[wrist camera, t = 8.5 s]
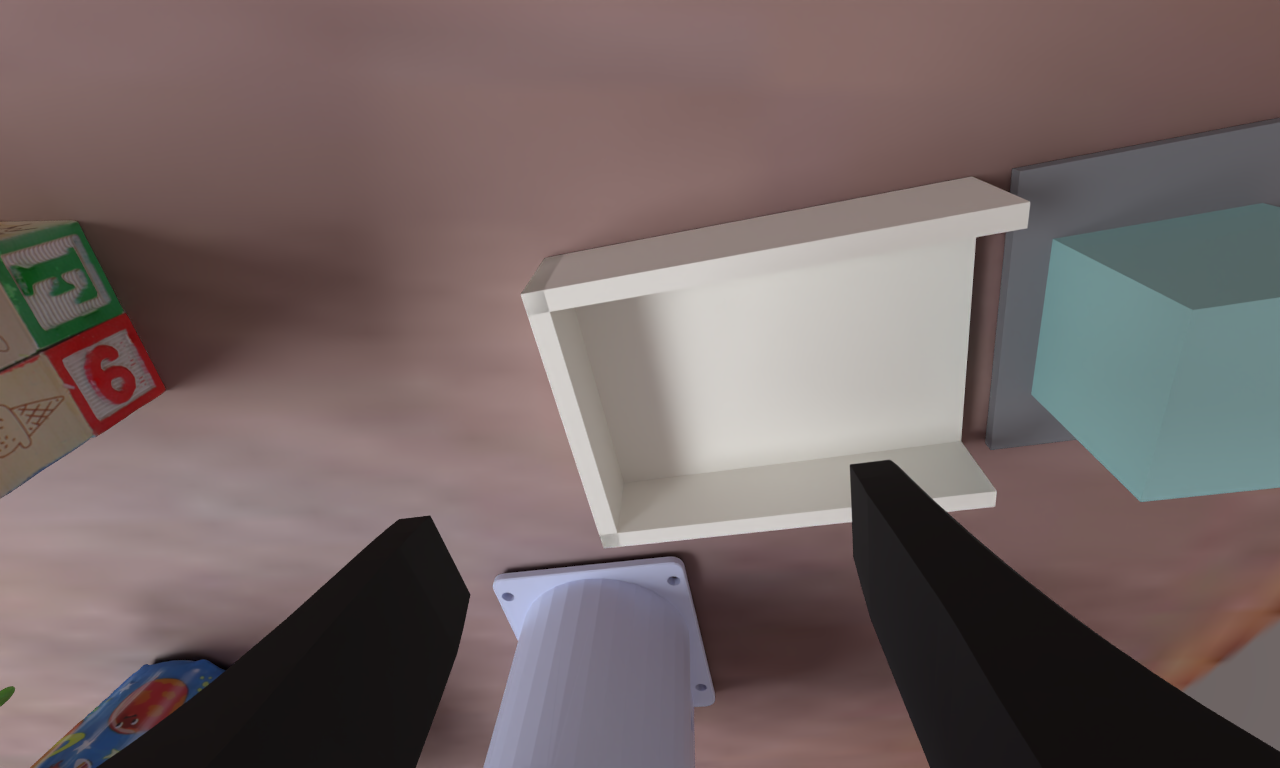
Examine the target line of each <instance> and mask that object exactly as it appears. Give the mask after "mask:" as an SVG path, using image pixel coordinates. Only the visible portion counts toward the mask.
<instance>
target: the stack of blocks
mask: <svg viewBox="0 0 1280 768" xmlns="http://www.w3.org/2000/svg"><path fill="white" fill-rule="evenodd" d="M165 391H166V389H165V386H164V384H163V383H162V381H161V379H160V377H159V375H158V373H157V371H156V369H155V367H154V365H153V363H152V361H151V360H150V358H149V356H148V354H147V352H146V350H145V348H144V346H143V344H142V342H141V340H140V339H139V337H138V335H137V333H136V331H135V329H134V327H133V325H132V323H131V321H130V319H129V317H128V316H127V315H126V313H125V312H124V310H123V308H122V307H121V305H120V303H119V301H118V299H117V297H116V295H115V293H114V291H113V289H112V287H111V285H110V283H109V281H108V280H107V278H106V276H105V274H104V272H103V270H102V268H101V266H100V264H99V262H98V260H97V258H96V256H95V254H94V252H93V250H92V248H91V247H90V245H89V243H88V241H87V239H86V237H85V235H84V233H83V231H82V229H81V227H80V225H79V223H78V222H77V221H74V220H59V221H14V222H0V498H2V497H4V496H5V495H7V494H9V493H10V492H12V491H13V490H15V489H16V488H18V487H19V486H21V485H22V484H24V483H25V482H26V481H28V480H29V479H31V478H32V477H34V476H35V475H36V474H38V473H39V472H41V471H42V470H44V469H45V468H47V467H48V466H50V465H52V464H53V463H55V462H56V461H58V460H59V459H61V458H62V457H64V456H66V455H67V454H69V453H70V452H72V451H73V450H75V449H76V448H78V447H79V446H81V445H82V444H84V443H85V442H87V441H88V440H89V439H90V438H92V437H97V436H98V435H100V434H102V433H103V432H105V431H106V430H108V429H109V428H111V427H112V426H114V425H115V424H117V423H118V422H120V421H121V420H123V419H124V418H126V417H127V416H128V415H130V414H131V413H132V412H134V411H135V410H137V409H139V408H140V407H142V406H144V405H145V404H147V403H149V402H150V401H152V400H153V399H155V398H156V397H158V396H159V395H161V394H163V393H164V392H165Z"/></svg>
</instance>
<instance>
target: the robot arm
mask: <svg viewBox="0 0 1280 768" xmlns="http://www.w3.org/2000/svg"><path fill="white" fill-rule="evenodd" d="M850 485H851V509H852V533H853V557H854V561H855V565H856V568H857V572H858V576H859V579H860V583H861V587H862V590H863V594H864V597H865V601H866V604H867V608H868V611H869V615H870V618H871V621H872V623H873V626H874V628H875V631H876V634H877V636H878V639H879V641H880V644H881V646H882V649H883V651H884V654H885V656H886V659H887V661H888V664H889V666H890V669H891V671H892V674H893V676H894V679H895V681H896V684H897V686H898V689H899V691H900V694H901V696H902V699H903V701H904V704H905V706H906V709H907V711H908V713H909V716H910V718H911V721H912V723H913V726H914V728H915V731H916V733H917V736H918V738H919V741H920V743H921V746H922V748H923V751H924V753H925V756H926V758H927V761H928V763H929V766H930V768H1280V751H1278V750H1276V749H1274V748H1273V747H1271V746H1270V745H1268V744H1266V743H1264V742H1263V741H1261V740H1260V739H1258V738H1256V737H1255V736H1253V735H1251V734H1250V733H1248V732H1246V731H1245V730H1243V729H1241V728H1240V727H1238V726H1236V725H1235V724H1233V723H1231V722H1230V721H1228V720H1226V719H1225V718H1223V717H1221V716H1220V715H1218V714H1216V713H1215V712H1213V711H1211V710H1210V709H1208V708H1206V707H1205V706H1203V705H1202V704H1200V703H1199V702H1197V701H1196V700H1194V699H1193V698H1191V697H1190V696H1188V695H1186V694H1185V693H1183V692H1182V691H1180V690H1179V689H1177V688H1176V687H1174V686H1173V685H1171V684H1170V683H1168V682H1167V681H1165V680H1163V679H1162V678H1160V677H1159V676H1157V675H1156V674H1154V673H1153V672H1151V671H1150V670H1148V669H1147V668H1146V667H1144V666H1143V665H1141V664H1140V663H1138V662H1137V661H1135V660H1134V659H1132V658H1131V657H1130V656H1128V655H1127V654H1125V653H1124V652H1122V651H1121V650H1119V649H1118V648H1116V647H1115V646H1114V645H1112V644H1111V643H1109V642H1108V641H1106V640H1105V639H1104V638H1102V637H1101V636H1099V635H1098V634H1097V633H1095V632H1094V631H1093V630H1091V629H1090V628H1088V627H1087V626H1086V625H1084V624H1083V623H1082V622H1080V621H1079V620H1078V619H1076V618H1075V617H1073V616H1072V615H1071V614H1069V613H1068V612H1067V611H1065V610H1064V609H1063V608H1061V607H1060V606H1059V605H1058V604H1056V603H1055V602H1054V601H1052V600H1051V599H1050V598H1049V597H1047V596H1046V595H1045V594H1043V593H1042V592H1041V591H1040V590H1038V589H1037V588H1036V587H1034V586H1033V585H1032V584H1031V583H1029V582H1028V581H1027V580H1026V579H1024V578H1023V577H1022V576H1021V575H1019V574H1018V573H1017V572H1016V571H1014V570H1013V569H1012V568H1011V567H1010V566H1008V565H1007V564H1006V563H1005V562H1003V561H1002V560H1001V559H1000V558H999V557H998V556H996V555H995V554H994V553H993V552H992V551H991V550H989V549H988V548H987V547H986V546H985V545H984V544H982V543H981V542H980V541H979V540H978V539H976V538H975V537H974V536H973V535H972V534H971V533H969V532H968V531H967V530H966V529H965V528H964V527H963V526H962V525H960V524H959V523H958V522H957V521H956V520H955V519H954V518H953V517H952V516H950V515H949V514H948V513H947V512H946V511H945V510H944V509H943V508H942V507H941V506H940V505H939V504H937V503H936V502H935V501H934V500H933V499H932V498H931V497H930V496H929V495H928V494H927V493H926V492H925V491H924V490H923V489H922V488H920V487H919V486H918V485H917V484H916V483H915V482H914V481H913V480H912V479H911V478H910V477H909V476H908V475H907V474H906V473H905V472H904V471H903V470H902V469H901V468H900V467H899V466H898V465H897V464H895V463H894V462H893V461H891V460H882V461H874V462H866V463H858V464H850ZM672 576H674V577H676V578H672ZM493 589H494V591H495V593H496V596H497V598H498V600H499V602H500V604H501V606H502V608H503V610H504V612H505V615H506V617H507V619H508V621H509V623H510V625H511V627H512V629H513V631H514V633H515V636H516V638H517V640H518V645H517V648H516V652H515V655H514V659H513V663H512V666H511V670H510V673H509V677H508V681H507V684H506V688H505V691H504V695H503V699H502V702H501V706H500V709H499V713H498V717H497V720H496V724H495V728H494V731H493V735H492V738H491V742H490V746H489V749H488V753H487V756H486V760H485V764H484V767H483V768H695V738H694V707H702V706H710V705H712V704H713V703H714V702H715V692H714V687H713V683H712V679H711V675H710V671H709V666H708V662H707V658H706V654H705V650H704V645H703V641H702V637H701V633H700V629H699V625H698V620H697V616H696V612H695V608H694V604H693V599H692V595H691V591H690V587H689V583H688V578H687V574H686V570H685V566H684V563H683V561H682V560H681V559H679V558H677V557H671V556H669V557H660V558H650V559H640V560H630V561H621V562H611V563H601V564H591V565H582V566H572V567H562V568H552V569H543V570H533V571H523V572H513V573H504V574H499V575H498V576H496V578H495V580H494V583H493ZM469 598H470V593H469V591H468V589H467V587H466V585H465V583H464V581H463V579H462V577H461V575H460V573H459V571H458V569H457V567H456V565H455V563H454V561H453V559H452V557H451V555H450V554H449V552H448V550H447V548H446V546H445V544H444V542H443V540H442V538H441V536H440V534H439V532H438V530H437V528H436V526H435V524H434V522H433V520H432V518H431V516H423V517H414V518H406V519H399V520H398V521H396V522H395V523H394V524H393V525H391V526H390V527H389V528H388V529H386V530H385V531H384V532H383V533H382V534H380V535H379V536H378V537H377V538H376V539H375V540H374V541H372V542H371V543H370V544H369V545H368V546H367V547H366V548H364V549H363V550H362V551H361V552H360V553H359V554H358V555H357V556H356V557H354V558H353V559H352V560H351V561H350V562H349V563H348V564H347V565H346V566H345V567H343V568H342V569H341V570H340V571H339V572H338V573H337V574H336V575H335V576H334V577H332V578H331V579H330V580H329V581H328V582H327V583H326V584H325V585H324V586H322V587H321V588H320V589H319V590H318V591H317V592H316V593H315V594H314V595H312V596H311V597H310V598H309V599H308V600H307V601H306V602H305V603H304V604H302V605H301V606H300V607H299V608H298V609H297V610H296V611H295V612H294V613H293V614H291V615H290V616H289V617H288V618H287V619H286V620H285V621H283V622H282V623H281V624H280V625H279V626H277V627H276V628H275V629H274V630H273V631H272V632H270V633H269V634H268V635H267V636H266V637H265V638H263V639H262V640H261V641H260V642H259V643H258V644H256V645H255V646H254V647H253V648H252V649H251V650H249V651H248V652H247V653H246V654H245V655H243V656H242V657H241V658H240V659H239V660H238V661H236V662H235V663H234V664H233V665H232V666H231V667H229V668H228V669H227V670H226V671H225V672H223V673H222V674H221V675H220V676H218V677H217V678H216V679H215V680H214V681H212V682H211V683H210V684H209V685H207V686H206V687H205V688H204V689H202V690H201V691H200V692H198V693H197V694H196V695H195V696H193V697H192V698H191V699H190V700H188V701H187V702H186V703H184V704H183V705H182V706H180V707H179V708H178V709H176V710H175V711H174V712H172V713H171V714H170V715H168V716H167V717H166V718H164V719H163V720H162V721H160V722H159V723H158V724H157V725H155V726H154V727H153V728H151V729H150V730H149V731H147V732H146V733H144V734H143V735H142V736H140V737H139V738H138V739H136V740H135V741H133V742H132V743H131V744H129V745H128V746H126V747H125V748H124V749H122V750H121V751H119V752H118V753H116V754H115V755H113V756H112V757H111V758H109V759H108V760H106V761H105V762H103V763H102V764H100V765H99V766H97V767H96V768H416V765H417V762H418V759H419V757H420V754H421V751H422V749H423V746H424V743H425V740H426V738H427V735H428V732H429V730H430V727H431V724H432V721H433V719H434V716H435V713H436V711H437V708H438V705H439V702H440V700H441V697H442V694H443V691H444V689H445V686H446V683H447V680H448V677H449V675H450V672H451V669H452V666H453V663H454V660H455V657H456V655H457V652H458V648H459V644H460V639H461V635H462V631H463V627H464V623H465V618H466V613H467V608H468V603H469Z"/></svg>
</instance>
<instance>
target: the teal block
mask: <svg viewBox="0 0 1280 768" xmlns="http://www.w3.org/2000/svg"><path fill="white" fill-rule="evenodd" d="M1031 395H1032V396H1033V397H1034V398H1035V399H1036V400H1037V401H1038V402H1039V403H1040V404H1041V405H1042V406H1043V407H1044V408H1045V409H1047V410H1048V411H1049V412H1050V413H1051V414H1052V415H1053V416H1054V417H1055V418H1056V419H1057V420H1058V421H1059V422H1060V423H1061V424H1062V425H1063V426H1064V427H1065V428H1066V429H1067V430H1068V431H1069V432H1070V433H1071V434H1072V435H1073V436H1074V437H1075V438H1076V439H1077V440H1078V441H1079V442H1080V443H1081V444H1082V445H1083V446H1084V447H1085V448H1086V449H1087V450H1088V451H1089V452H1090V453H1091V454H1092V455H1093V456H1094V457H1095V458H1096V459H1097V460H1098V461H1099V462H1100V463H1101V464H1102V465H1103V466H1104V467H1105V468H1106V469H1107V470H1109V471H1110V472H1111V473H1112V474H1113V475H1114V476H1115V477H1116V478H1117V479H1118V480H1119V481H1120V482H1121V483H1122V484H1123V485H1124V486H1125V487H1126V488H1127V489H1128V490H1129V491H1130V492H1131V493H1132V494H1133V495H1134V496H1135V497H1136V498H1137V499H1138V500H1139V501H1140V502H1145V501H1155V500H1164V499H1174V498H1183V497H1193V496H1203V495H1212V494H1222V493H1231V492H1241V491H1251V490H1260V489H1270V488H1280V207H1276V206H1273V205H1269V204H1265V203H1260V204H1254V205H1248V206H1242V207H1237V208H1231V209H1225V210H1219V211H1213V212H1207V213H1202V214H1196V215H1190V216H1184V217H1178V218H1172V219H1166V220H1161V221H1155V222H1149V223H1143V224H1137V225H1131V226H1126V227H1120V228H1114V229H1108V230H1102V231H1096V232H1091V233H1085V234H1079V235H1073V236H1067V237H1061V238H1056V239H1053V241H1052V248H1051V255H1050V262H1049V270H1048V277H1047V284H1046V291H1045V298H1044V306H1043V313H1042V320H1041V327H1040V334H1039V342H1038V349H1037V356H1036V363H1035V371H1034V378H1033V385H1032V392H1031Z"/></svg>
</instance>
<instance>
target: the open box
mask: <svg viewBox="0 0 1280 768" xmlns="http://www.w3.org/2000/svg"><path fill="white" fill-rule="evenodd" d="M1029 210H1030V201H1028V200H1025V199H1023V198H1021V197H1018V196H1016V195H1014V194H1011V193H1009V192H1007V191H1004V190H1002V189H1000V188H998V187H995V186H993V185H991V184H988V183H986V182H984V181H981V180H979V179H977V178H974V177H966V178H961V179H956V180H951V181H945V182H940V183H935V184H930V185H924V186H919V187H914V188H909V189H903V190H898V191H893V192H888V193H882V194H877V195H872V196H867V197H861V198H856V199H851V200H846V201H840V202H835V203H830V204H825V205H819V206H814V207H809V208H804V209H798V210H793V211H788V212H783V213H777V214H772V215H767V216H762V217H756V218H751V219H746V220H741V221H735V222H730V223H725V224H720V225H715V226H709V227H704V228H699V229H694V230H688V231H683V232H678V233H673V234H667V235H662V236H657V237H652V238H646V239H641V240H636V241H631V242H625V243H620V244H615V245H610V246H604V247H599V248H594V249H589V250H583V251H578V252H573V253H568V254H562V255H557V256H552V257H547V258H544V260H543V261H542V263H541V264H540V266H539V267H538V269H537V270H536V272H535V273H534V275H533V276H532V278H531V279H530V281H529V282H528V284H527V286H526V287H525V289H524V290H523V292H522V293H521V297H522V300H523V303H524V306H525V309H526V312H527V315H528V318H529V321H530V324H531V327H532V330H533V334H534V337H535V340H536V343H537V346H538V349H539V352H540V355H541V358H542V361H543V364H544V367H545V370H546V373H547V376H548V379H549V383H550V386H551V389H552V392H553V395H554V398H555V401H556V404H557V407H558V410H559V413H560V416H561V419H562V422H563V425H564V428H565V432H566V435H567V438H568V441H569V444H570V447H571V450H572V453H573V456H574V459H575V462H576V465H577V468H578V471H579V474H580V477H581V480H582V484H583V487H584V490H585V493H586V496H587V499H588V502H589V505H590V508H591V511H592V514H593V517H594V520H595V523H596V526H597V529H598V533H599V536H600V539H601V542H602V545H603V548H613V547H622V546H632V545H641V544H650V543H660V542H669V541H678V540H688V539H697V538H706V537H716V536H725V535H735V534H744V533H753V532H763V531H772V530H781V529H791V528H800V527H810V526H819V525H828V524H838V523H847V522H852V509H851V485H850V464H858V463H866V462H874V461H882V460H891V461H893V462H894V463H895V464H897V465H898V466H899V467H900V468H901V469H902V470H903V471H904V472H905V473H906V474H907V475H908V476H909V477H910V478H911V479H912V480H913V481H914V482H915V483H916V484H917V485H918V486H919V487H920V488H922V489H923V490H924V491H925V492H926V493H927V494H928V495H929V496H930V497H931V498H932V499H933V500H934V501H935V502H936V503H937V504H939V505H940V506H941V507H942V508H943V509H944V510H945V511H946V512H950V511H959V510H969V509H978V508H988V507H995V503H996V494H997V491H996V489H995V488H994V487H993V485H992V484H991V482H990V481H989V480H988V478H987V477H986V475H985V474H984V473H983V471H982V470H981V468H980V467H979V466H978V464H977V463H976V461H975V460H974V459H973V457H972V456H971V454H970V453H969V452H968V450H967V449H966V447H965V446H964V445H963V443H962V442H961V435H962V422H963V408H964V395H965V381H966V367H967V354H968V340H969V327H970V313H971V300H972V286H973V273H974V259H975V245H976V237H980V236H986V235H992V234H997V233H1003V232H1009V231H1015V230H1020V229H1026V228H1027V227H1028V218H1029Z"/></svg>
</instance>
